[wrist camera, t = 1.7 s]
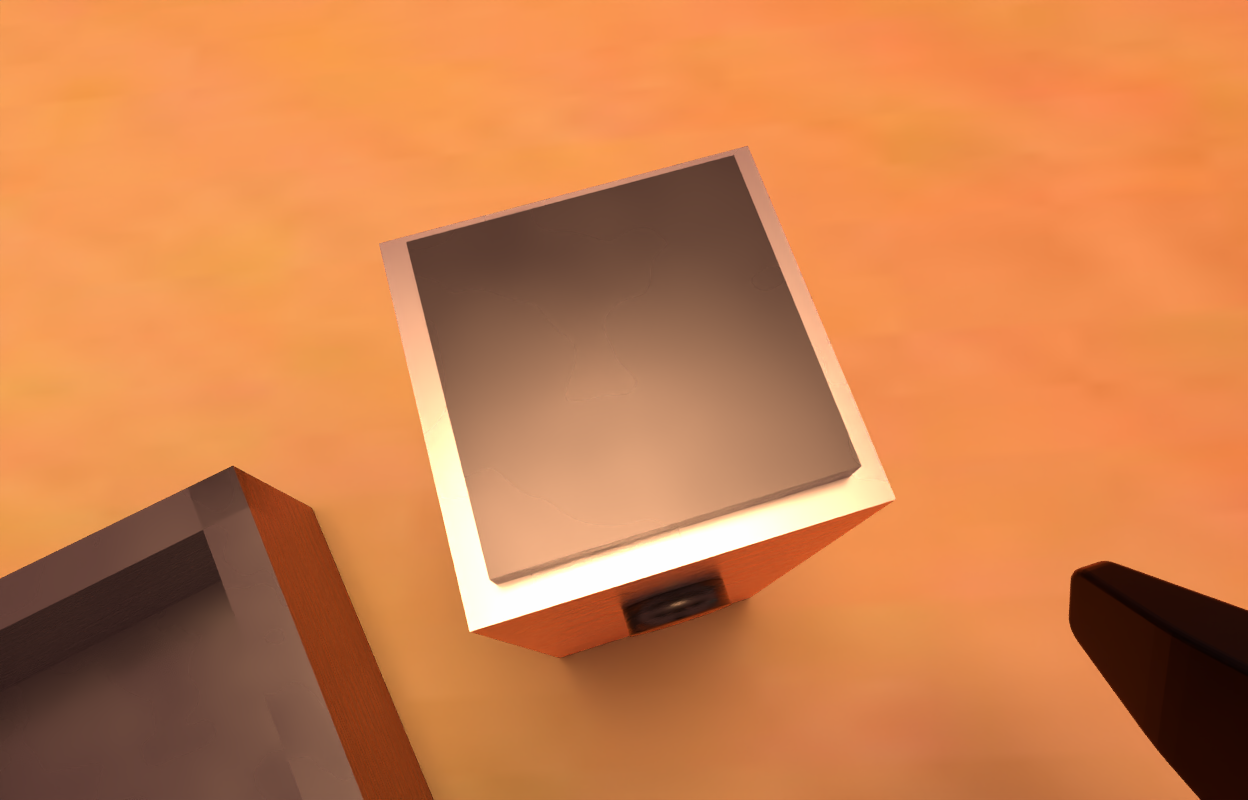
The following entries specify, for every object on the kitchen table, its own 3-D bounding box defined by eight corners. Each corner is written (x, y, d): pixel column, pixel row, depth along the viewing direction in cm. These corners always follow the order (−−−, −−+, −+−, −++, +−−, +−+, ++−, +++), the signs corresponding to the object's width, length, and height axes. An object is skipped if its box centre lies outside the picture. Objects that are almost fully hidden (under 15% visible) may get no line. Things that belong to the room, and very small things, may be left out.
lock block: (754, 613, 21) (925, 524, 9) (564, 674, 20) (469, 668, 8) (687, 418, 22) (753, 121, 10) (509, 470, 22) (367, 222, 10)
